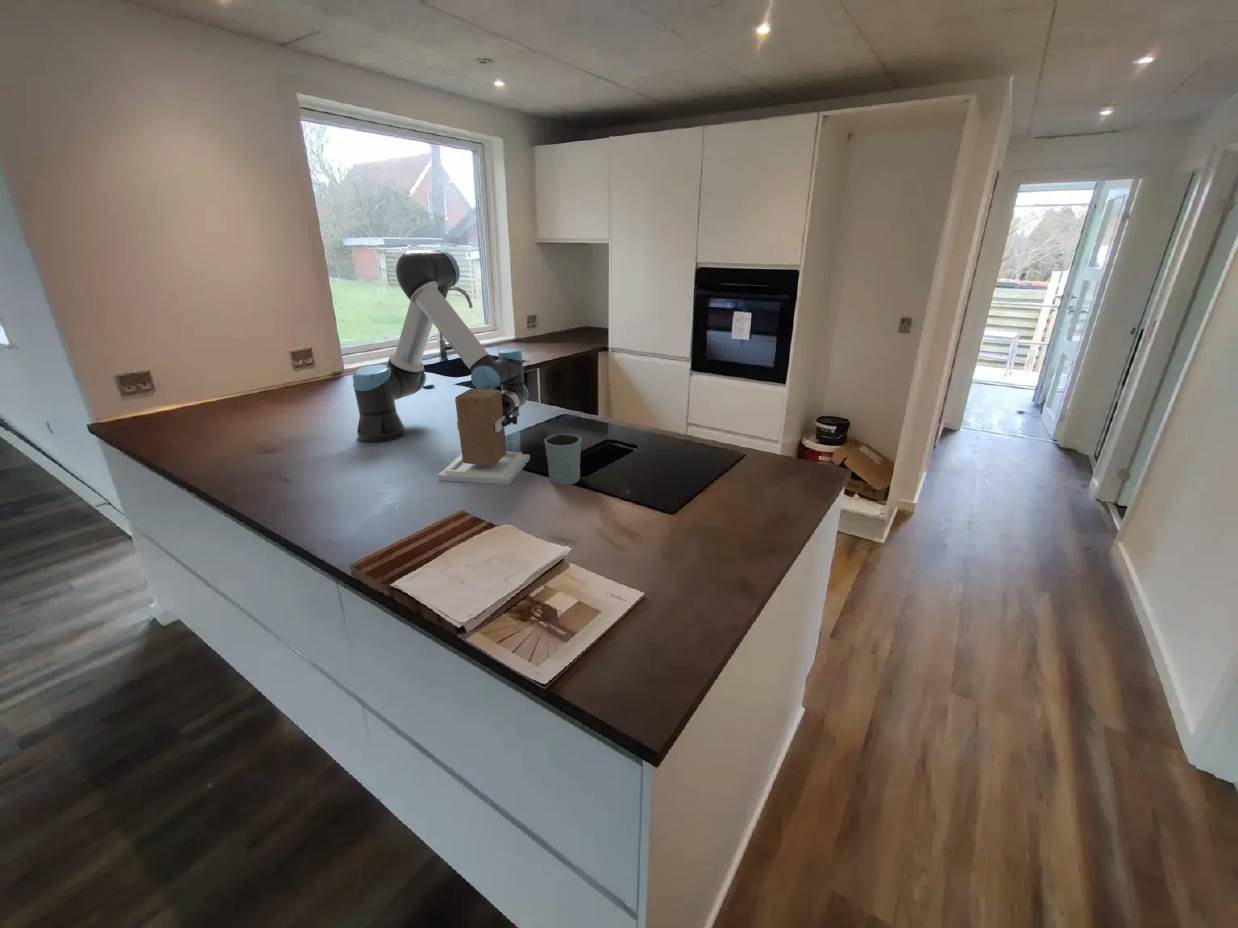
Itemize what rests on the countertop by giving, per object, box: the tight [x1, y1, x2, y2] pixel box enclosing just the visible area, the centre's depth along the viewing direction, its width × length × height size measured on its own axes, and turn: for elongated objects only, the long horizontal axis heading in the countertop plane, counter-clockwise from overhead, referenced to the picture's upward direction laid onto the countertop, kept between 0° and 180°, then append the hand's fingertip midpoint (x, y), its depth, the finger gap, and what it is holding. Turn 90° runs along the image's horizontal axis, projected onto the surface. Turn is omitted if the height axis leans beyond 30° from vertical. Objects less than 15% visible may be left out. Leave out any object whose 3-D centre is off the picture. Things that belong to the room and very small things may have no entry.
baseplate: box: [437, 451, 531, 485], centre depth 159 cm, size 19×21×2 cm
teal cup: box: [544, 433, 582, 486], centre depth 151 cm, size 10×10×12 cm
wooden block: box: [454, 388, 507, 465], centre depth 155 cm, size 10×10×20 cm
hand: (477, 427), depth 152 cm, fingers closed on wooden block, 10 cm apart
